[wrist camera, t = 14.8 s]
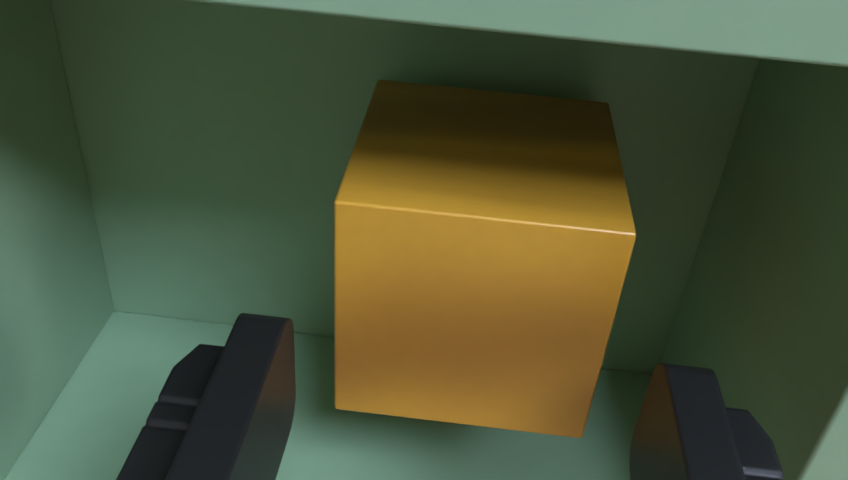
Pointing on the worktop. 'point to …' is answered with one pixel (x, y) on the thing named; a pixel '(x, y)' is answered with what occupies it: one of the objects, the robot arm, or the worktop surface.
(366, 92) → the chest
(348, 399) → the block
